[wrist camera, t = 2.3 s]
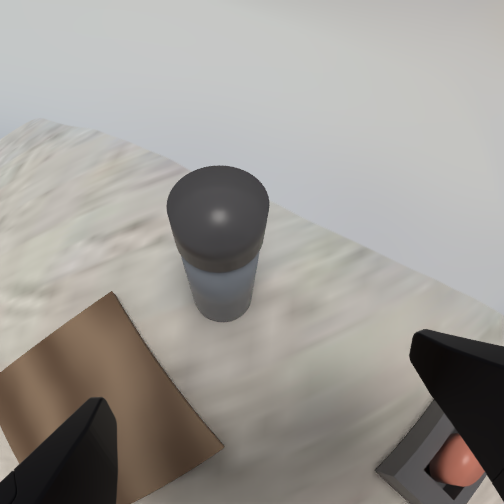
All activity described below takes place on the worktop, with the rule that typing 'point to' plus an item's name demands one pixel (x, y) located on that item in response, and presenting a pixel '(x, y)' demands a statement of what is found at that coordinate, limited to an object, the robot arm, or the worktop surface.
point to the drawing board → (116, 394)
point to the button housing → (424, 463)
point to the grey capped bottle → (219, 236)
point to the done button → (455, 463)
